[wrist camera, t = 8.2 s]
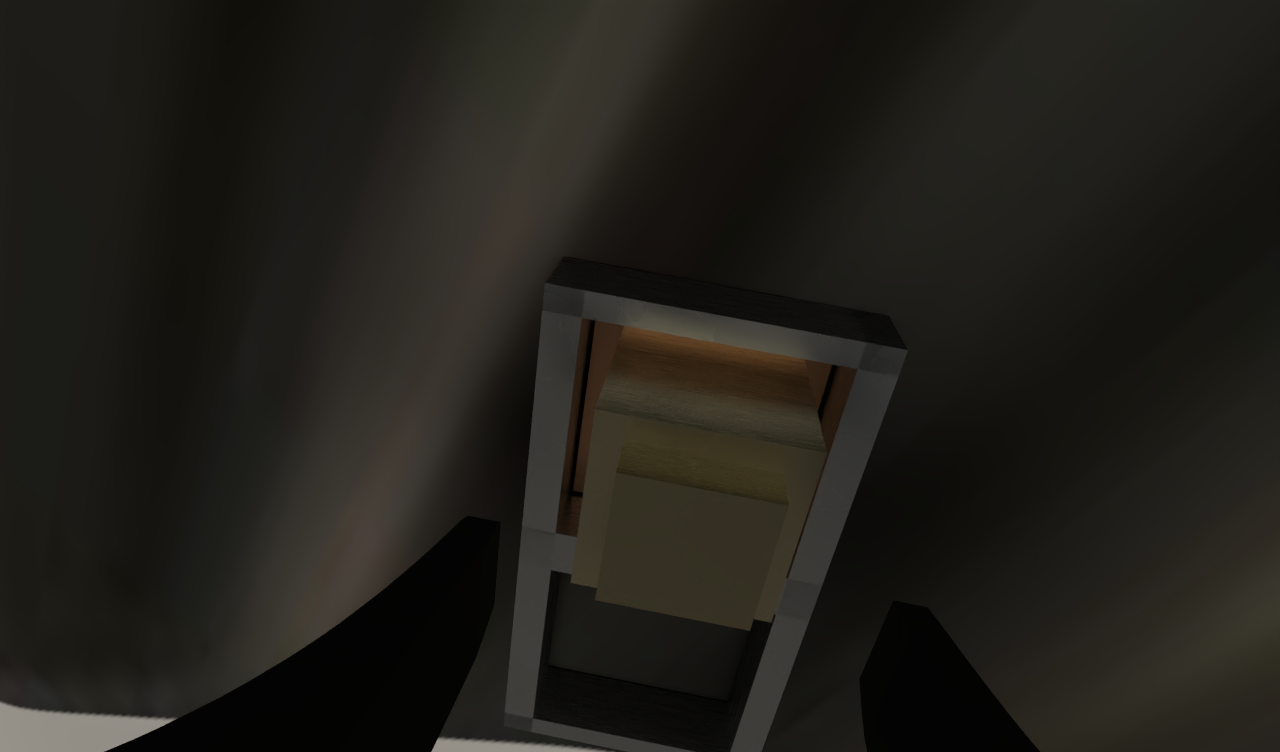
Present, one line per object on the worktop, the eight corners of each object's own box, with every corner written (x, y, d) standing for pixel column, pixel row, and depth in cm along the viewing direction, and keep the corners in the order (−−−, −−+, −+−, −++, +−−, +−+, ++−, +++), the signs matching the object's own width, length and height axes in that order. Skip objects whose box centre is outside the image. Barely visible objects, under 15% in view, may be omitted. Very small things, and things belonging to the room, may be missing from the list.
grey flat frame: (750, 721, 23) (752, 777, 22) (520, 673, 24) (503, 726, 22) (888, 316, 17) (907, 349, 15) (564, 256, 17) (545, 283, 15)
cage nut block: (762, 499, 19) (773, 658, 14) (603, 468, 19) (561, 616, 14) (803, 355, 17) (834, 483, 12) (625, 322, 17) (585, 436, 12)
